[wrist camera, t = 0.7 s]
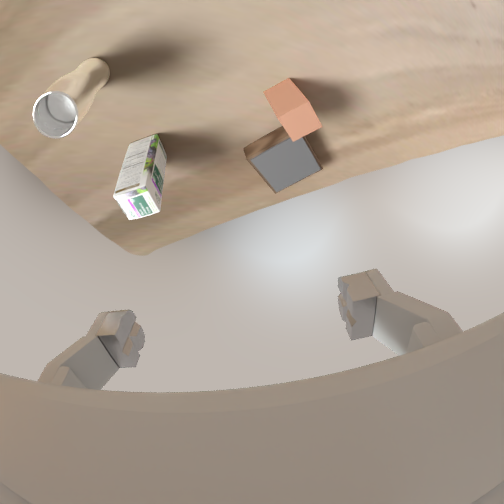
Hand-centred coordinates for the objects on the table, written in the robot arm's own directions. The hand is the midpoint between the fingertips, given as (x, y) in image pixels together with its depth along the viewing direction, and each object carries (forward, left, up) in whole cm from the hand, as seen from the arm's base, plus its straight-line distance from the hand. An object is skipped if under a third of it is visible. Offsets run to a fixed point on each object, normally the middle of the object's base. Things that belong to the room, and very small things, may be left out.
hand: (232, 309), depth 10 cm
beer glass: (+15, -10, -40) cm, 44 cm away
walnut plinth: (0, +25, -40) cm, 47 cm away
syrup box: (+19, +8, -40) cm, 45 cm away
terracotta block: (-6, +14, -40) cm, 42 cm away
